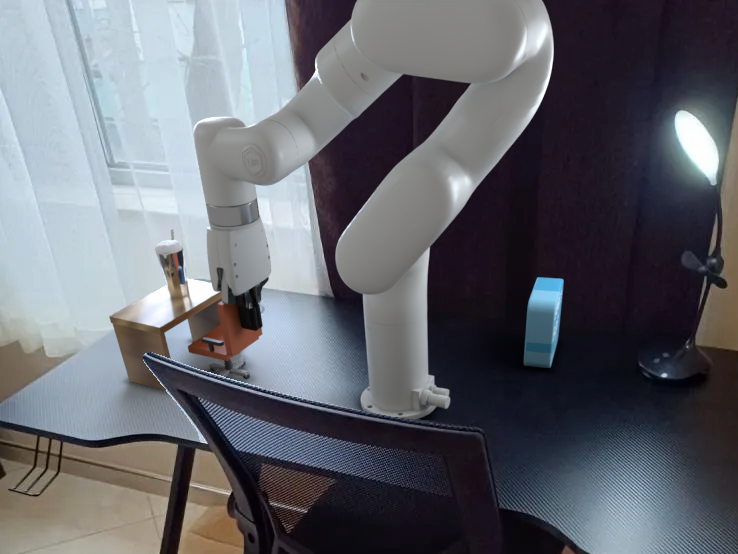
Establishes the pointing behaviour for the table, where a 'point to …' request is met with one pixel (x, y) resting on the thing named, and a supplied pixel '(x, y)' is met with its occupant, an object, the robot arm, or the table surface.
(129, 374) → the desk
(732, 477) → the table surface
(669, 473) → the table surface
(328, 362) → the table surface
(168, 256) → the milkshake
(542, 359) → the data package
